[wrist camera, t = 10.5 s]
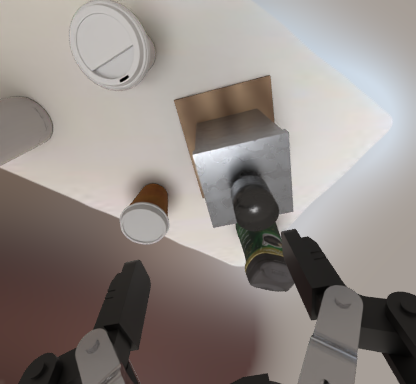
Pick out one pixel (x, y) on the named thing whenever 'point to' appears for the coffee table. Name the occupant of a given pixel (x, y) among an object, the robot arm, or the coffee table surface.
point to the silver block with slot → (241, 160)
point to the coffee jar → (265, 259)
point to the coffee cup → (110, 45)
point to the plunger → (253, 203)
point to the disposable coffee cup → (146, 216)
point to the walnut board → (223, 107)
